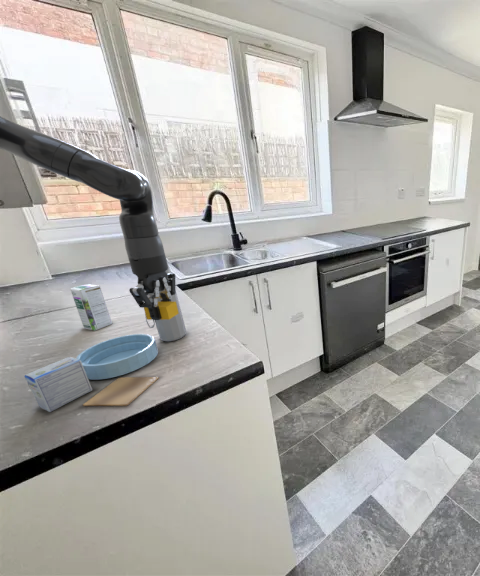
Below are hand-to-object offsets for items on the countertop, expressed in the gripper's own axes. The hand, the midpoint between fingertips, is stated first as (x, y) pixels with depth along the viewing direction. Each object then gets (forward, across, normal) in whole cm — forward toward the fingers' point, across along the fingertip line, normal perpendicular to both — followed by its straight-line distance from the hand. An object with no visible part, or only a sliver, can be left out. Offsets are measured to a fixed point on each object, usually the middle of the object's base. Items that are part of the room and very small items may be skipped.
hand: (162, 315), depth 83 cm
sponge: (0, 0, 0) cm, 0 cm away
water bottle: (+13, -10, -8) cm, 18 cm away
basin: (+13, +4, -12) cm, 18 cm away
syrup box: (+13, -20, -39) cm, 45 cm away
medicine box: (+13, +18, -13) cm, 26 cm away
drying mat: (+13, +16, -2) cm, 20 cm away
